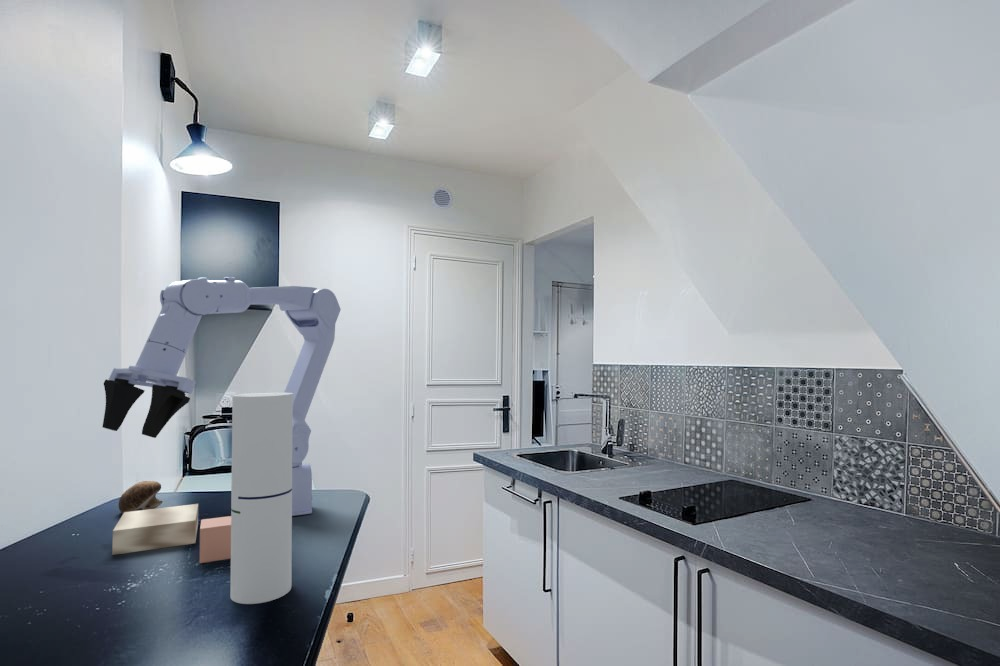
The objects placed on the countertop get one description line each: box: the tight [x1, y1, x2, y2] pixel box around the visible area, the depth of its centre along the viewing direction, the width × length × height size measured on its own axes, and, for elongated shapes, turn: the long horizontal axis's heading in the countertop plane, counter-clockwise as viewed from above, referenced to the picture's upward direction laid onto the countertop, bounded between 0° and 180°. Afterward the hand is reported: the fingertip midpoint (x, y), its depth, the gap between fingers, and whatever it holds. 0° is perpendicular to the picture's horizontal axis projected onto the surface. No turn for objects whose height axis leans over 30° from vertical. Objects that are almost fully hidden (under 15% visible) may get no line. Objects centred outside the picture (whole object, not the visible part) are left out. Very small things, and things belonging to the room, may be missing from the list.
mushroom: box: [118, 480, 163, 515], centre depth 106 cm, size 8×8×6 cm
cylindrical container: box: [229, 391, 293, 605], centre depth 70 cm, size 7×7×25 cm
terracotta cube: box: [199, 515, 231, 564], centre depth 83 cm, size 5×5×5 cm
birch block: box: [111, 503, 199, 556], centre depth 91 cm, size 11×11×4 cm
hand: (128, 432), depth 82 cm, fingers open, 7 cm apart
